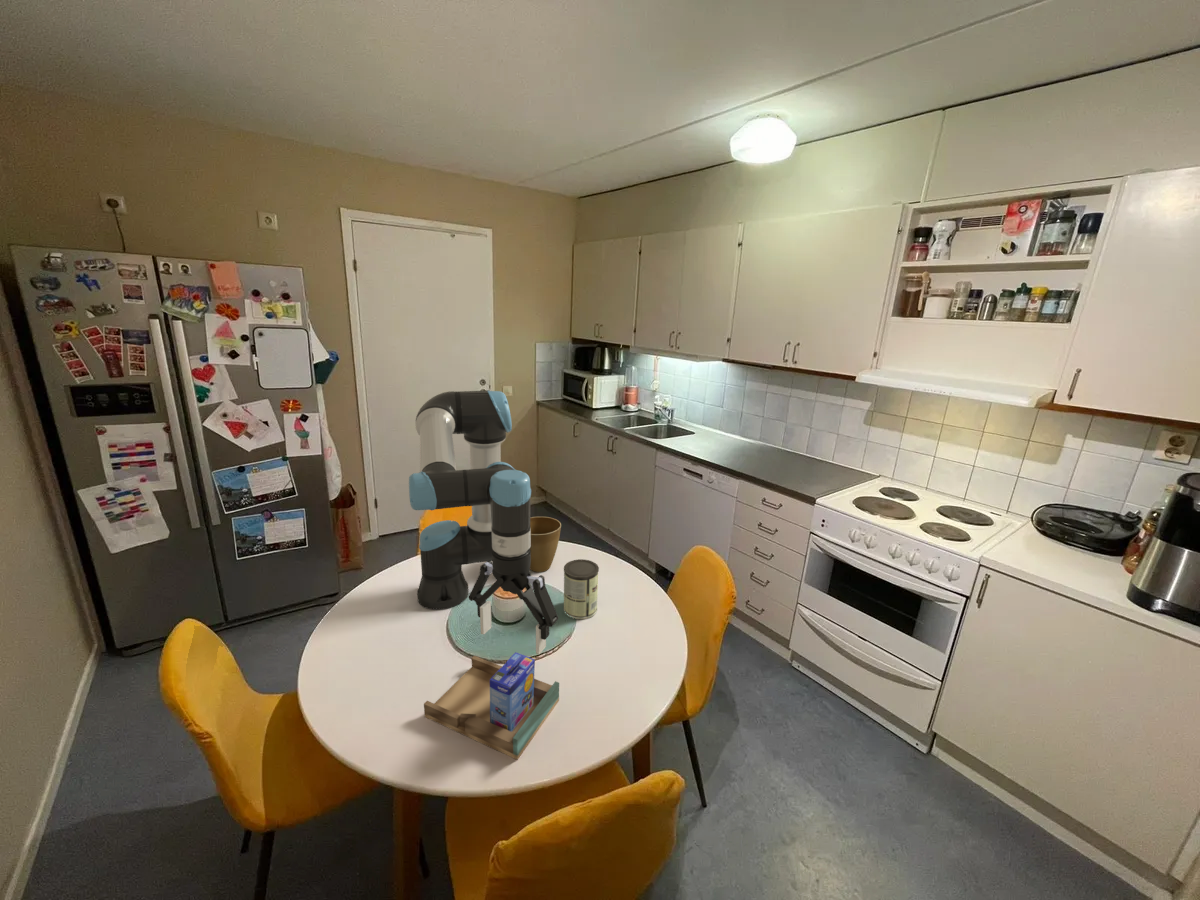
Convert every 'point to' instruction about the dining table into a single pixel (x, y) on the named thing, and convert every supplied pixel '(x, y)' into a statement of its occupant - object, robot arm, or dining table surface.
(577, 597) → the coffee can
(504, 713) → the ink cartridge box
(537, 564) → the plant pot
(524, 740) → the channel
